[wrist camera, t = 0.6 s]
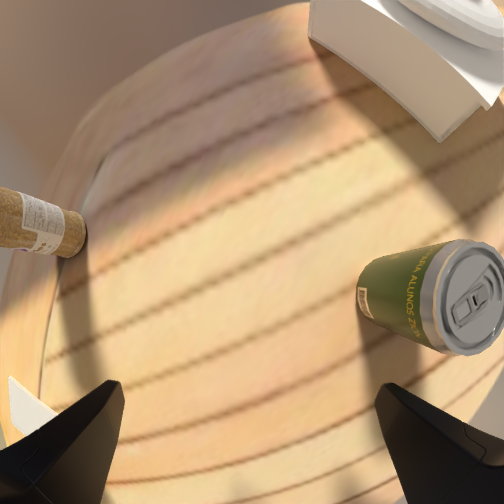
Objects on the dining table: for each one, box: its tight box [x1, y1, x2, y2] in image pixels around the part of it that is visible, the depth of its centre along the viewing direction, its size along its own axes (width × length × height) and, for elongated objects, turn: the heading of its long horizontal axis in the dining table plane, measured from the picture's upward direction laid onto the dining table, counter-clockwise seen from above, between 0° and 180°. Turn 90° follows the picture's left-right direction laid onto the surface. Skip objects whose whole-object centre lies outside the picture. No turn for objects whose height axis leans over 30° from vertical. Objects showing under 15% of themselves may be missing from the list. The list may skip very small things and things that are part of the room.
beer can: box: [356, 239, 504, 356], centre depth 15 cm, size 5×5×12 cm
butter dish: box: [307, 0, 504, 144], centre depth 15 cm, size 18×18×16 cm
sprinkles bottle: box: [0, 186, 86, 258], centre depth 17 cm, size 5×5×14 cm
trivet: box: [8, 376, 58, 436], centre depth 22 cm, size 10×8×1 cm
